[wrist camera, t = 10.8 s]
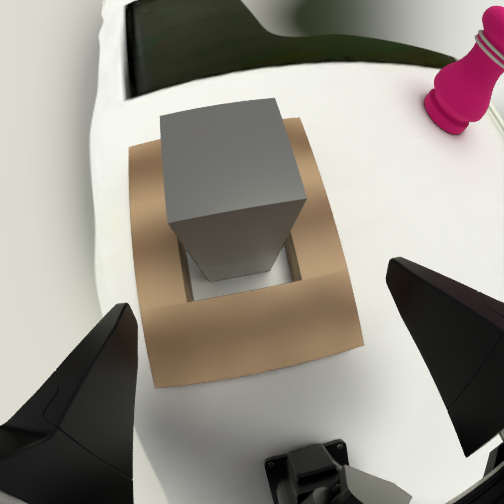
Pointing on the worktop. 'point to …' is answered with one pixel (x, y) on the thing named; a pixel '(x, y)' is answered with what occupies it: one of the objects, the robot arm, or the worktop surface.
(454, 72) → the pepper mill
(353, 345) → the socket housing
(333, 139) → the worktop surface
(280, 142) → the plug block
